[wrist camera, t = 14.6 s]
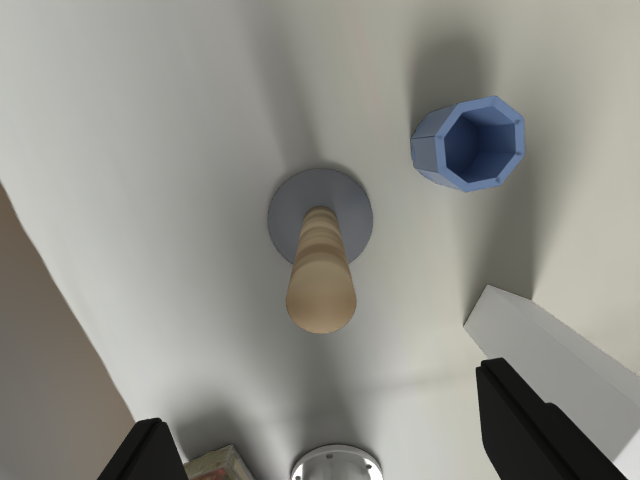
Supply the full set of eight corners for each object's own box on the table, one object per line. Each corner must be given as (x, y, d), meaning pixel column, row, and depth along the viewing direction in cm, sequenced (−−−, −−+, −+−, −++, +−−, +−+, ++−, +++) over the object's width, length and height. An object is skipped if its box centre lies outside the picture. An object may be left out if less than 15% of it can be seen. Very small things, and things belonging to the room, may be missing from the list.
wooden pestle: (340, 235, 34) (361, 326, 17) (307, 242, 34) (294, 338, 17) (334, 202, 33) (349, 263, 16) (299, 209, 33) (278, 277, 16)
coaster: (378, 258, 36) (380, 261, 35) (282, 277, 36) (281, 280, 36) (362, 158, 33) (363, 158, 32) (257, 180, 33) (256, 181, 33)
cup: (484, 174, 33) (526, 181, 27) (415, 188, 34) (439, 198, 27) (480, 100, 31) (524, 87, 25) (406, 116, 32) (430, 108, 25)
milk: (531, 299, 37) (816, 498, 16) (506, 343, 39) (735, 576, 18) (485, 283, 37) (718, 467, 15) (461, 327, 38) (642, 551, 17)
